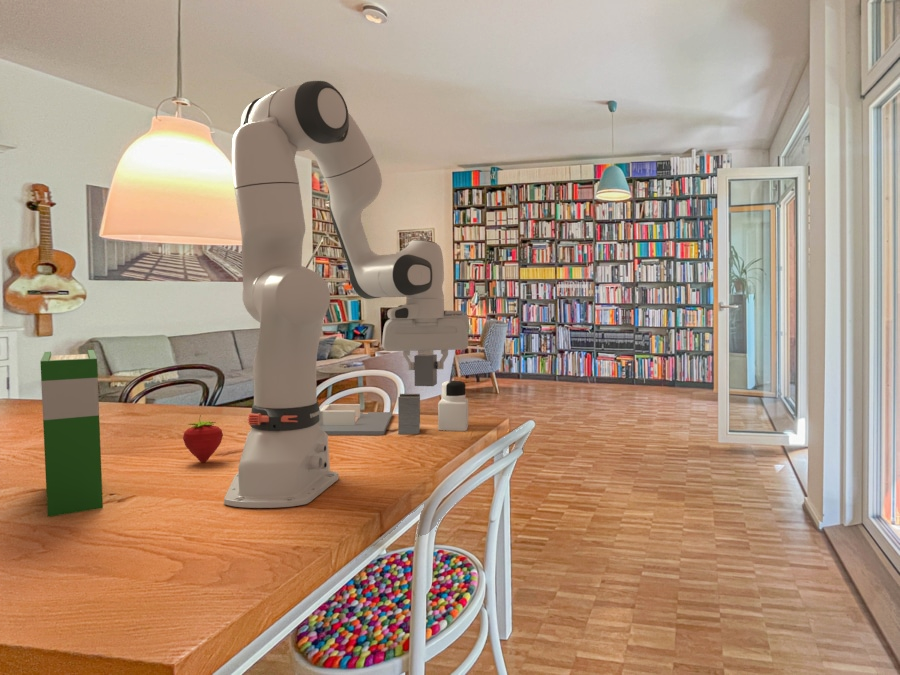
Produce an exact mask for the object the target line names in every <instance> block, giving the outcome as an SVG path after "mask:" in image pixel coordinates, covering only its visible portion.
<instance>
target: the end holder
mask: <svg viewBox="0 0 900 675" xmlns="http://www.w3.org/2000/svg"><path fill="white" fill-rule="evenodd" d="M363 413H368V414H363ZM319 417H320V420H319V422H318V424H319V426H320V427H321V429H322V430H323V431H324V432H326V433H327V435H328V436H384V435H385V433H386V431H387V429H388V427H387V426H389V424H390V423H391V422H390V421H391V420H392V418H393V412H392V411H361V403H360V404H359V403H326V404H324V405H323V407H321V408H320V414H319ZM386 428H387V429H386Z"/></svg>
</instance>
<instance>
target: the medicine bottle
mask: <svg viewBox="0 0 900 675" xmlns="http://www.w3.org/2000/svg"><path fill="white" fill-rule="evenodd" d="M466 385H467V384H466V383H465V382H464V381H461V380H446V381H444V382H442V384H441V399H440V400H439V401H438V403H437V408H438V409H437V411H438V412H437V420H438V421H437V425H438V426H437V430H438V431H439V430H443V432H445V430H446V432H447V431H448V432H466V431H467V430H468V427H469V398H466Z"/></svg>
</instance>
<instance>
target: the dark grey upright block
mask: <svg viewBox="0 0 900 675" xmlns="http://www.w3.org/2000/svg"><path fill="white" fill-rule="evenodd" d="M397 400H398V402H397V405H398V407H397V408H398V409H397V410H398V415H397V417H398V418H397V419H398V424H397V425H398V427H397V431H398V435H420V432H421V393H399V396H398V397H397Z"/></svg>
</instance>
